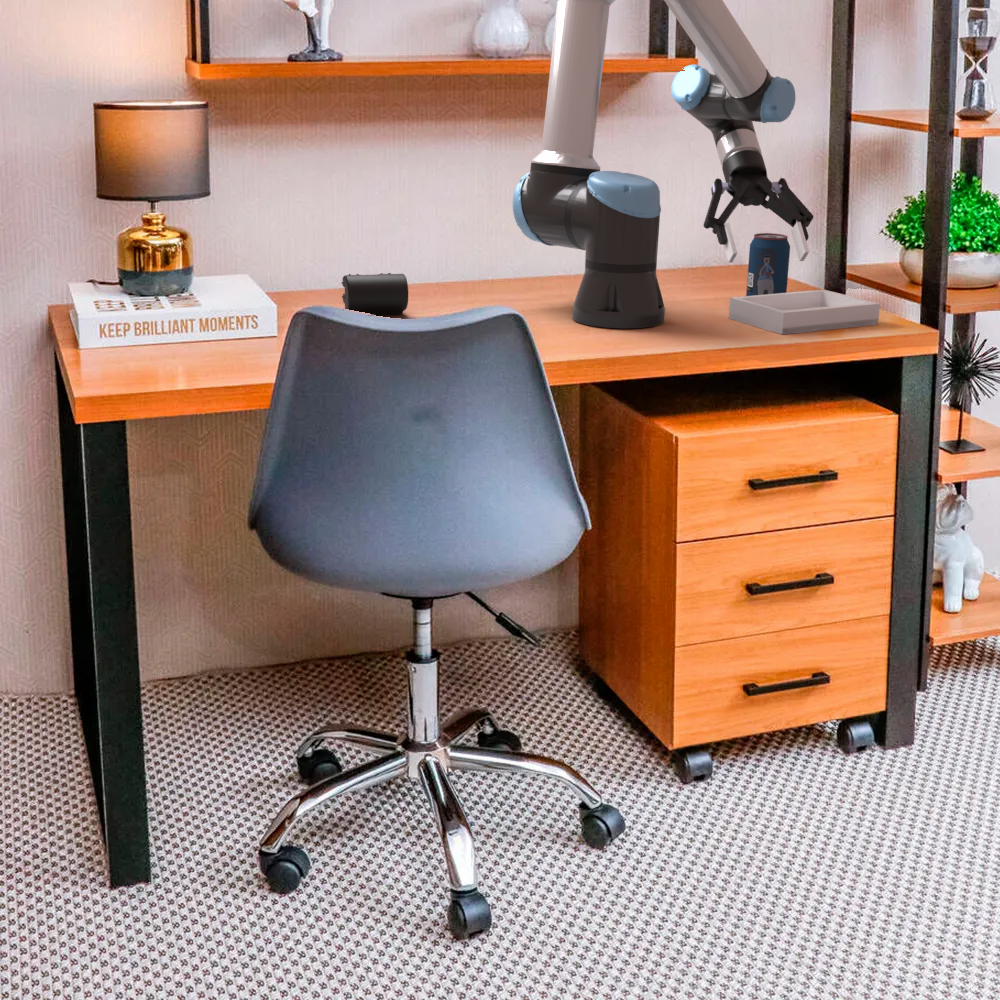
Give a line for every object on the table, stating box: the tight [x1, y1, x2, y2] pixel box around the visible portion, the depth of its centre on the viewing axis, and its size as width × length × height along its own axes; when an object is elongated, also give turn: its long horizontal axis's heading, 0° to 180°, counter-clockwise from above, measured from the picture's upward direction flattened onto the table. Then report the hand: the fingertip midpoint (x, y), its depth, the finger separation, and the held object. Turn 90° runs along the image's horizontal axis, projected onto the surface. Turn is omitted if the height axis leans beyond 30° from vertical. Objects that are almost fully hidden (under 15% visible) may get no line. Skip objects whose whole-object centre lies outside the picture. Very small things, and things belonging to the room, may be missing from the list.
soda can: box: [745, 232, 791, 296], centre depth 250 cm, size 7×7×12 cm
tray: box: [728, 289, 881, 335], centre depth 237 cm, size 20×14×4 cm
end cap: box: [341, 272, 409, 316], centre depth 236 cm, size 10×7×7 cm
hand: (769, 257), depth 252 cm, fingers open, 13 cm apart
